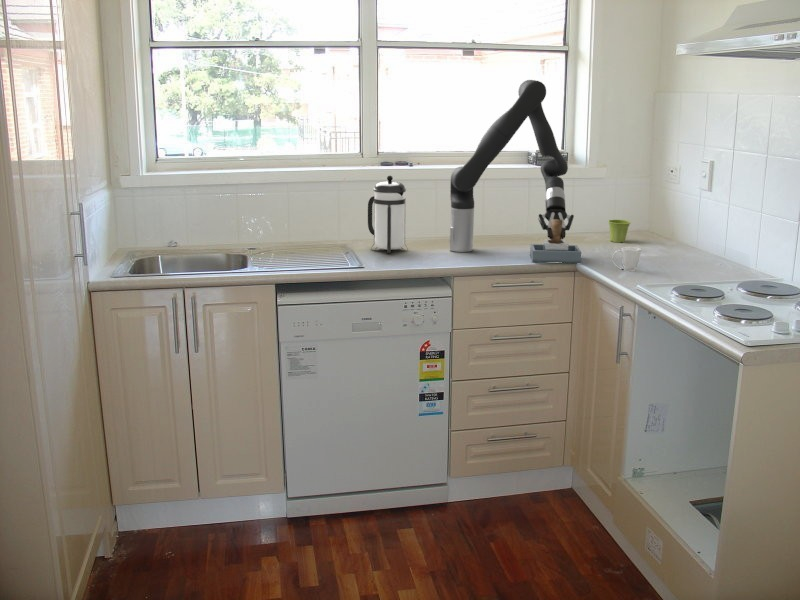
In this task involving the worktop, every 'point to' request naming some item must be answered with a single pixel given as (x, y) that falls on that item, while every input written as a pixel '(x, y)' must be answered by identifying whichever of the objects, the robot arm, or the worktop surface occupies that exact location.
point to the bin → (555, 254)
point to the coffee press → (388, 215)
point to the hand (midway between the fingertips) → (556, 237)
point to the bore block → (555, 245)
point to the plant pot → (618, 230)
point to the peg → (556, 231)
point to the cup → (629, 257)
